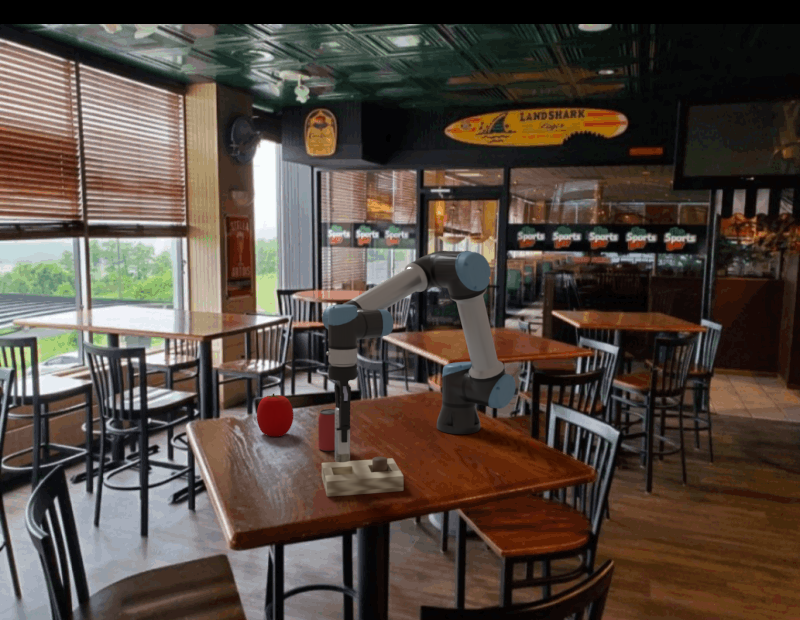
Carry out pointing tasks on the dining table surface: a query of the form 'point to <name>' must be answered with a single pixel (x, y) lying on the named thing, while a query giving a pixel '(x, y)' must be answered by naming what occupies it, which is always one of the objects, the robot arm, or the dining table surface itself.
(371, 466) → the socket block
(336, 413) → the steel pin
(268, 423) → the tomato
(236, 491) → the dining table surface
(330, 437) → the beer can
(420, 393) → the dining table surface
